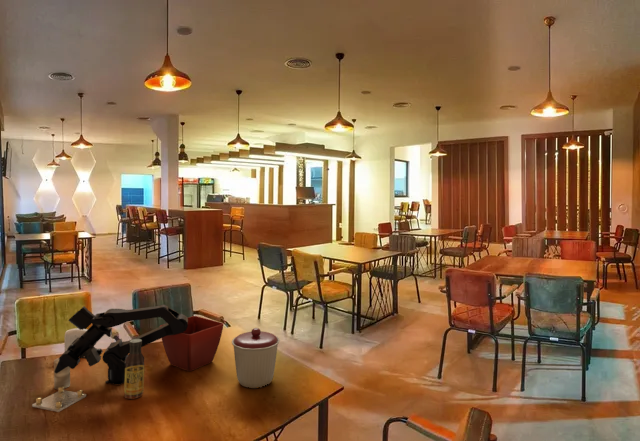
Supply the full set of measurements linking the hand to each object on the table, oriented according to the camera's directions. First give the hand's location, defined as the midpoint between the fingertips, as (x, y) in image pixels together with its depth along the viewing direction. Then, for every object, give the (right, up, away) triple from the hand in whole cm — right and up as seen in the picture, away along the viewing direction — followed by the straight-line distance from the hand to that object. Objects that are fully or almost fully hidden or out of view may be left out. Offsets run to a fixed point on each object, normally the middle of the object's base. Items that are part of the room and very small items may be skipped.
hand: (57, 369), depth 149 cm
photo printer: (-10, -5, +29) cm, 31 cm away
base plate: (+7, -7, -10) cm, 15 cm away
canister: (+71, -8, +7) cm, 72 cm away
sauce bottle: (+31, -7, -5) cm, 32 cm away
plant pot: (+42, -6, +24) cm, 48 cm away
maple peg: (+1, -6, +1) cm, 6 cm away
